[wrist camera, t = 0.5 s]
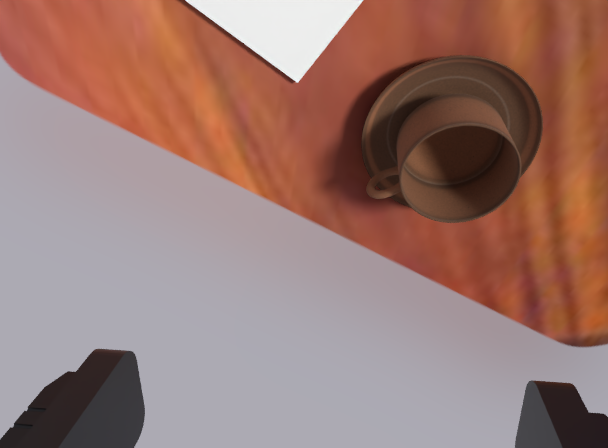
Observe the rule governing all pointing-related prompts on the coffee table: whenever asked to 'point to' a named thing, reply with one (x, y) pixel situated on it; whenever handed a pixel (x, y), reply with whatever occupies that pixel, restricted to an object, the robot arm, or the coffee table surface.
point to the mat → (281, 27)
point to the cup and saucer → (452, 137)
